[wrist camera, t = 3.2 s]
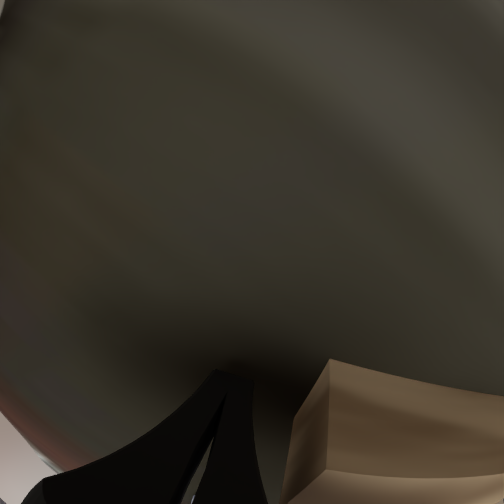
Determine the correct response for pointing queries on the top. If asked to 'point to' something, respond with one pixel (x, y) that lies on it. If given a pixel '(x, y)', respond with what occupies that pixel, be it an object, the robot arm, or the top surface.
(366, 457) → the brown wooden block
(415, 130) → the top surface
